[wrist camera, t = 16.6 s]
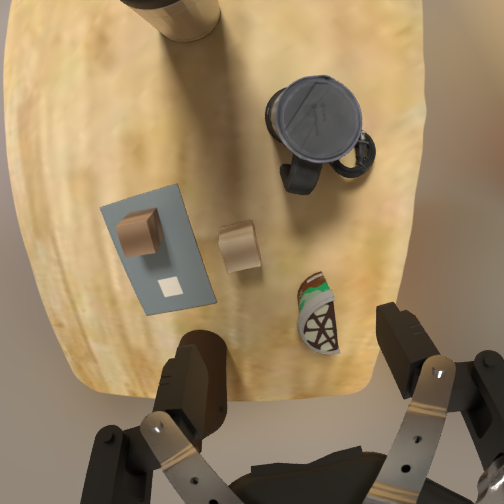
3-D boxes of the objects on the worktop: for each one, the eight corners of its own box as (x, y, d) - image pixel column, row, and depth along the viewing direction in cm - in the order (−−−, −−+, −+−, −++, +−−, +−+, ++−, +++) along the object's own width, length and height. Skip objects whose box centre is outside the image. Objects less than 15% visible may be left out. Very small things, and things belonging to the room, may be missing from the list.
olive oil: (192, 318, 57) (171, 432, 35) (240, 342, 60) (239, 455, 37) (167, 350, 61) (143, 455, 38) (212, 371, 64) (203, 475, 41)
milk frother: (260, 88, 40) (268, 78, 27) (364, 81, 40) (413, 75, 26) (273, 181, 46) (286, 214, 33) (372, 171, 46) (418, 198, 32)
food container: (284, 272, 53) (292, 306, 44) (320, 263, 53) (334, 296, 44) (296, 326, 59) (304, 363, 50) (328, 319, 58) (340, 355, 49)
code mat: (100, 207, 47) (99, 207, 47) (177, 183, 46) (177, 183, 46) (146, 314, 57) (146, 315, 56) (216, 302, 56) (216, 302, 55)
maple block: (220, 227, 49) (218, 242, 44) (251, 219, 49) (253, 234, 44) (229, 254, 52) (227, 273, 46) (259, 248, 51) (261, 265, 46)
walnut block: (128, 213, 47) (115, 227, 42) (156, 207, 47) (146, 220, 42) (136, 241, 50) (125, 257, 44) (164, 236, 50) (155, 252, 44)
